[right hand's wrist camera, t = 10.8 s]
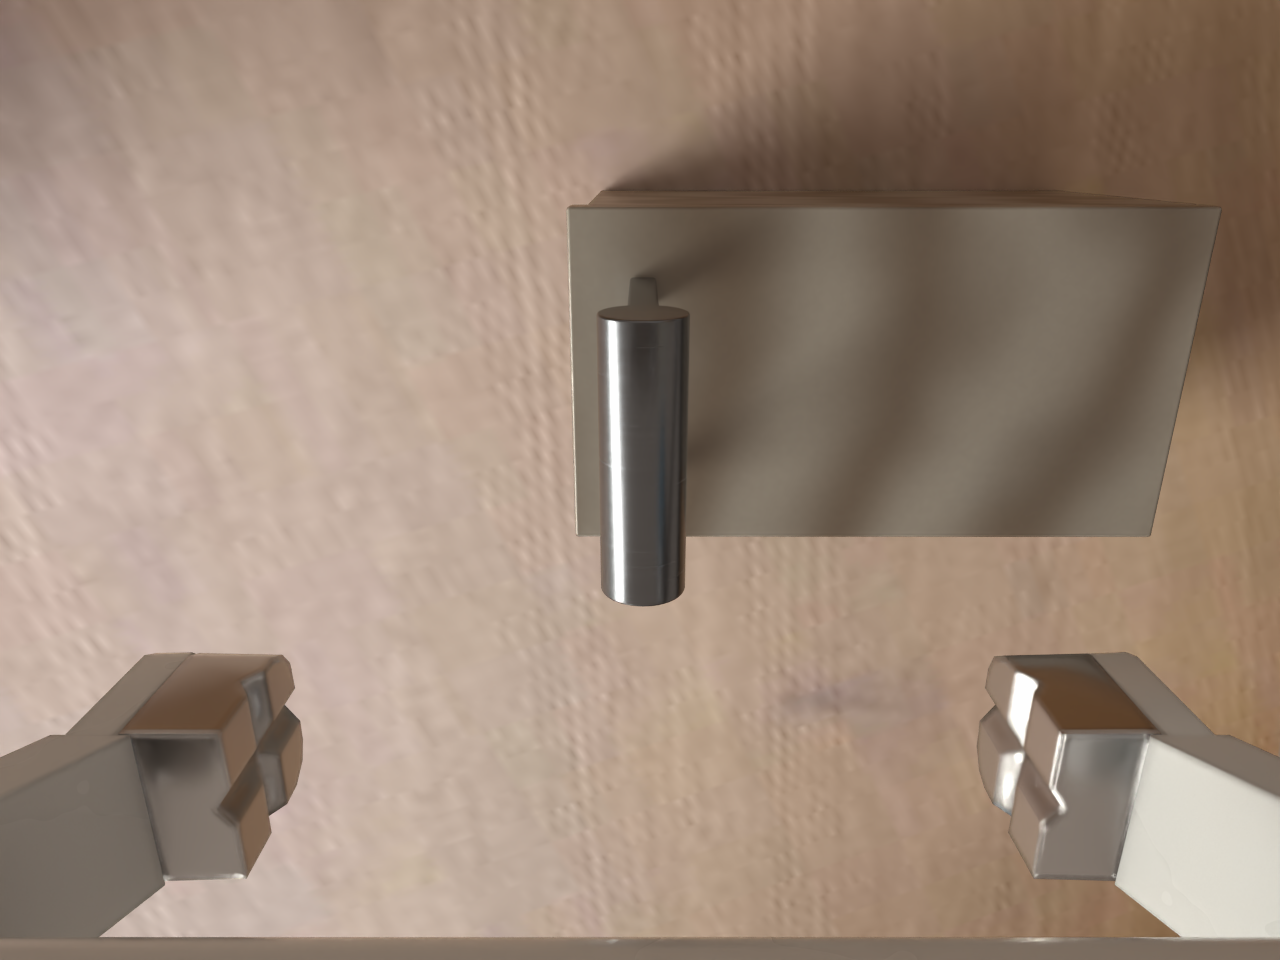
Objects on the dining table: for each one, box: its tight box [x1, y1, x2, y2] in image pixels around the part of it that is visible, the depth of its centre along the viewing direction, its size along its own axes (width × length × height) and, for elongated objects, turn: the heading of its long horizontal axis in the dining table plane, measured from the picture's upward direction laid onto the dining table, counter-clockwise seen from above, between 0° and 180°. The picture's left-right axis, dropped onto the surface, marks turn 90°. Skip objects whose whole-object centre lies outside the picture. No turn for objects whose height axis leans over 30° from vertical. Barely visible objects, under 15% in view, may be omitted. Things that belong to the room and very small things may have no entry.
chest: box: [588, 191, 1196, 205], centre depth 30 cm, size 17×9×9 cm, turn 90°
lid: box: [566, 205, 1222, 606], centre depth 22 cm, size 17×9×8 cm, turn 90°
